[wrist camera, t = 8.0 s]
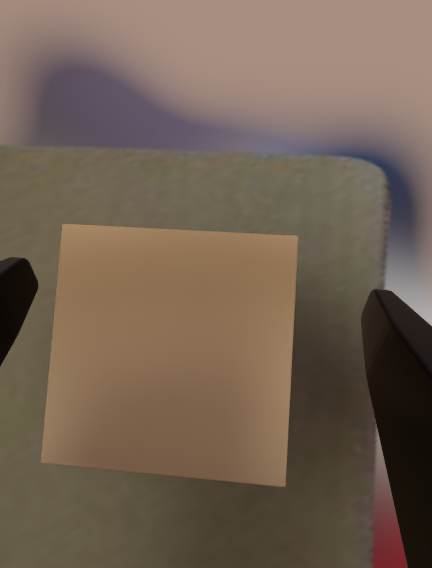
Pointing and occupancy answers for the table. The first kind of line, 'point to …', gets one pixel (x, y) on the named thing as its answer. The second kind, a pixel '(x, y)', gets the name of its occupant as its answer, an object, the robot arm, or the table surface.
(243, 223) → the table surface
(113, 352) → the pillar
